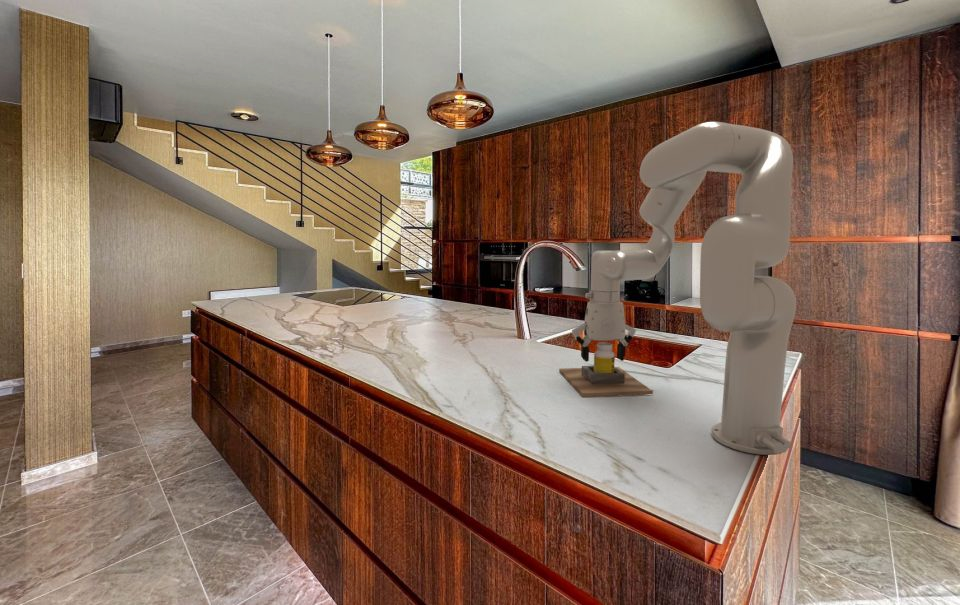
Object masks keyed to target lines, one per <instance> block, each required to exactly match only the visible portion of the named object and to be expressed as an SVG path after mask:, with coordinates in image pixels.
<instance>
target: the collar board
mask: <svg viewBox="0 0 960 605" xmlns="http://www.w3.org/2000/svg"><path fill="white" fill-rule="evenodd" d="M558 370H559V373H560V374H561V376H563V378H564V379H565V380H566V381H567V382H568V383H569V384H570V385H571V386H572V388H573V389H574V390H575V391H576V392H577V393H578V394H579V395H580V396H581V397H582V398H596V397H597V398H599V397H601V396H603V397H620V396H619V395H633V396H645V395H644V394H653V393H654V391H653V390H652V389H650V388H649V387H648V386H647V385H645V383H644V384H643V383H642V382H641V381H640V380H638V379H637V378H636V377H634V376H632V375H631V374H630V373H628V372H626V371H625V370H623V369H622V368H621V367H620V366H614V373H601V374H595V373H594V365H581V367H572V368H571V367H569V368H567V367H566V368H559V369H558ZM653 395H654V394H653Z"/></svg>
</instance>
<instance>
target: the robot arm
mask: <svg viewBox="0 0 960 605" xmlns="http://www.w3.org/2000/svg"><path fill="white" fill-rule="evenodd" d="M639 167H640V168H639V178H640V181H641V182H642V184H643V185H644V186H646V187H647V188H650V189H649V191H648V193H647V195H646V197H645V198H644V200H643V202H642V204H641V205H640V207H639V209H638V210H639V215H640V217H641V218H642V220H643V221H644V222H646V223H647V224H648V226H650V227H652V233H651V235H650V238H649V240H648V241H647V242H646V244H645V246H644V247H643V249H623V250H621V249H619V250H596V251H594V252H593V253H592V255H591V267H590V268H591V270H590V290H589V292H586V293H585V295H584V296H585V299H589V301H588V302H587V306H586V309H585V316H584V322H583V323H582V324H580V325H578V326H577V327H575V328H572V330H571V333H572V335H573V337H574V339H575V341H576V342H578V344H580V345H581V347H580V357H581V358H582V360H583V361H585V362H590V347H589V346H588V345H589V344H591V342H592V341H594V342H596V341H597V342H600V341H604V342H606V341H617V342H618V344H616V346H617V347H616V358H617V359H618V360H619V361H620V362H623V361H624V360H625V357H626V347H627V346H628V344H629V343H630V342H631V341H632V340H633V338H634V336H635V334H636V332H637V330H636V329H635V328H634V327H632V326H630V325H628V324H626V317H625V316H626V315H625V308H624V302H622V301H621V300H620V299H621V282H623V281H626V282H627V281H636V280H637V281H638V280H639V281H640V280H649V279H651V278H653V277H655V276H656V275H657V274H658V273H659V272H660V271H661V270H662V268H663V267H664V265H666V262H667V261H668V259H670V257H671V255H672V253H673V250H674V244H675V240H676V238H675V236H676V234H675V233H676V232H675V226H676V225H675V224H676V223H677V222H678V219H679V218H680V217H681V215H682V214H683V211H684V210H685V209H686V207H687V206H688V204H689V202H691V200H692V198H693V197H694V195H695V193H696V191H698V189H699V187H700V186H701V184H702V182H703V181H704V179H705V177H706V175H707V172H716V173H729V174H737V175H742V178H741V179H740V181H739V184H738V186H737V189H736V192H735V200H734V201H735V213H734V214H730V215H725V216H723V217H719V219H716V220H715V221H714V222H713V223H712V224H711V225H710V226H709V227H708V229H707V230H706V232H705V234H704V236H703V238H702V241H701V246H700V262H699V264H700V266H699V270H700V271H699V272H700V275H699V276H700V277H699V302H700V303H699V304H700V305H699V306H700V311H701V313H702V317H703V318H704V320H705V322H706V323H707V324H708V325H709V326H710V327H711V328H713V329H715V330H718V331H720V332H725V333H726V332H727V333H730V335H729V338H728V340H727V346H726V350H725V351H726V352H725V353H726V354H725V366H724V378H723V391H722V392H723V394H722V404H721V405H722V406H721V407H722V408H721V409H722V410H721V419H720V420H721V422H719V423H716V424H714V425H713V426H712V427H711V436H712V437H713V439H714V440H715V441H716V442H719V443H720V444H721V445H723V446H726V447H727V448H731V449H733V450H736V451H739V452H742V453H743V452H744V453H748V454H753V455H761V456H773V455H774V456H775V455H781V454H783V453H786V452H787V451H788V449H790V448H791V446H792V442H791V441H790V440H788V439H787V438H786V437H785V436H783V435H784V434H783V433H784V432H783V431H784V427H782V426H781V414H782V404H783V396H784V395H783V392H784V382H785V370H786V369H785V368H786V362H787V353H788V352H787V351H788V345H789V338H790V333H791V329H792V326H793V323H794V319H795V317H796V311H797V299H796V294H795V292H794V291H793V289H792V288H791V286H790V285H789V284H788V283H786V282H785V281H784V280H782V279H780V278H777V277H774V276H769V275H755V270H757V269H767V268H771V267H775V266H777V265H780V264H781V263H782V262H783V261H784V260H785V259H786V257H787V256H788V254H789V252H790V246H791V244H790V243H791V218H792V217H791V215H792V214H791V213H792V212H791V211H792V180H793V178H792V177H793V172H794V171H793V169H794V155H793V150H792V147H791V146H790V144H789V142H788V140H786V138H784V137H783V136H781V135H779V134H778V133H775V132H774V131H770V130H767V129H764V128H763V129H762V128H759V127H752V126H747V125H742V124H741V125H740V124H732V123H729V122H723V121H707V122H706V121H705V122H702V123H699V124H697V125H695V126H693V127H690V128H689V129H686V130H684V131H681V133H678V134H677V135H675V136H673V137H671V138H668V139H667V140H664V141H663V142H661V143H659V144H657V145H655V147H653V148H651V149H650V150H649V151H648V153H647V154H645V156H644V158H643V159H642V162H641V164H640V166H639ZM626 331H627V334H626ZM581 332H583V335H584V336H583V338H582V337H581V336H580V333H581Z"/></svg>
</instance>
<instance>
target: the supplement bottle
mask: <svg viewBox="0 0 960 605" xmlns="http://www.w3.org/2000/svg"><path fill="white" fill-rule="evenodd" d="M596 347H597V350H596V351H595V352H593V366H594V373H595V374H601V373H614V367H615V362H616V361H615V360H616V355H615V354H616V353H614V351H613V348H614V347H613V343H610V342H606V341H604V342H600V341H599V342H597V345H596Z"/></svg>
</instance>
